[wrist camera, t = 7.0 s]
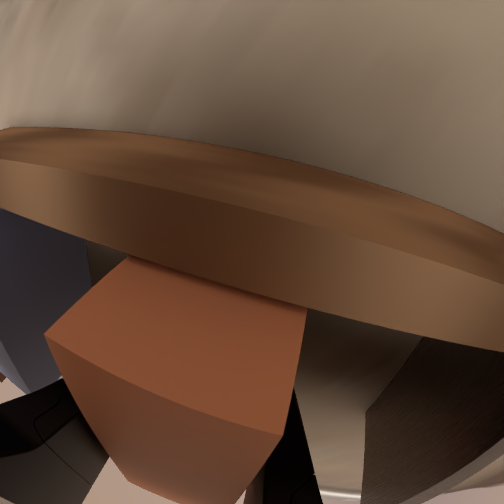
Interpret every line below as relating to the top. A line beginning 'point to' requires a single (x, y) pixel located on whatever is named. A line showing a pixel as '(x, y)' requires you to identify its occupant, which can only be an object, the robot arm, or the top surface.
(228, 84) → the top surface
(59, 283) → the blue-grey rectangular block
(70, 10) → the top surface
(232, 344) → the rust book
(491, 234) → the shelf
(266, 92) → the top surface
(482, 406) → the bookend
